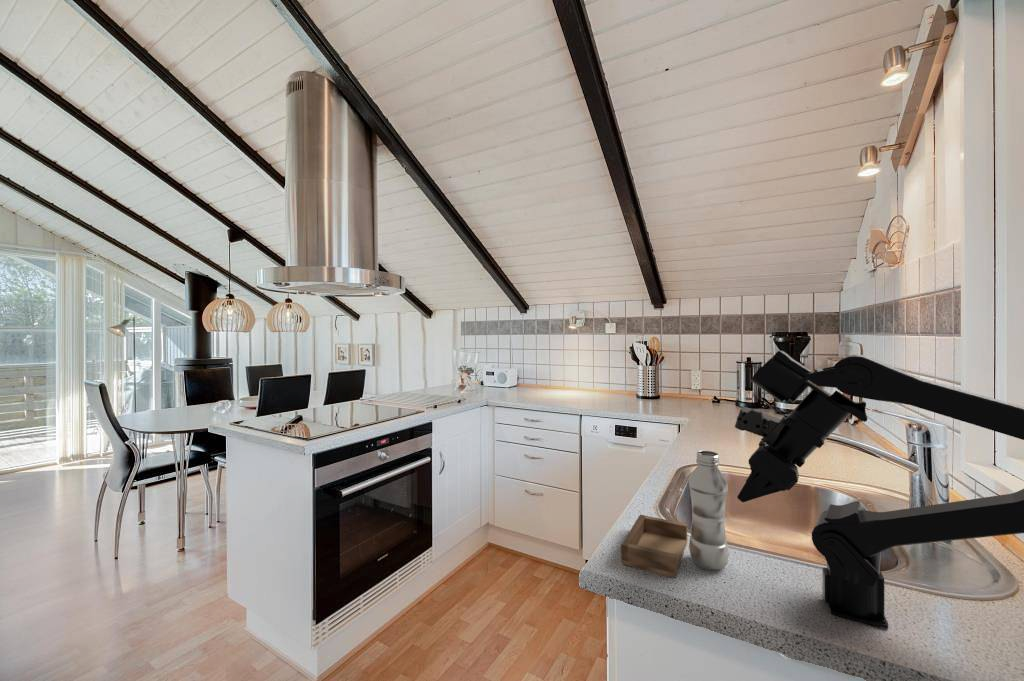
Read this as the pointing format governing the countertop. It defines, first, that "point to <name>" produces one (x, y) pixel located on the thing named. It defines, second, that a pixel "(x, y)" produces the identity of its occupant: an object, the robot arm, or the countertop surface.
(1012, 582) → the countertop surface
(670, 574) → the bottle stand
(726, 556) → the silver metal bottle
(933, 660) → the countertop surface
